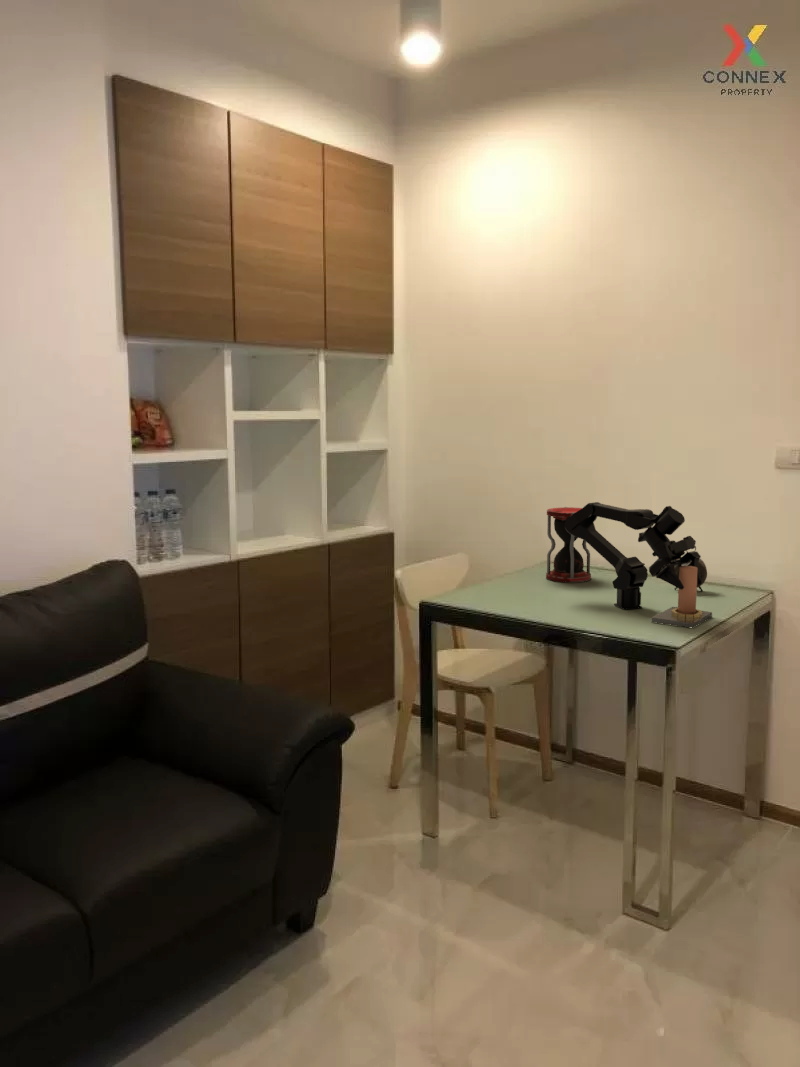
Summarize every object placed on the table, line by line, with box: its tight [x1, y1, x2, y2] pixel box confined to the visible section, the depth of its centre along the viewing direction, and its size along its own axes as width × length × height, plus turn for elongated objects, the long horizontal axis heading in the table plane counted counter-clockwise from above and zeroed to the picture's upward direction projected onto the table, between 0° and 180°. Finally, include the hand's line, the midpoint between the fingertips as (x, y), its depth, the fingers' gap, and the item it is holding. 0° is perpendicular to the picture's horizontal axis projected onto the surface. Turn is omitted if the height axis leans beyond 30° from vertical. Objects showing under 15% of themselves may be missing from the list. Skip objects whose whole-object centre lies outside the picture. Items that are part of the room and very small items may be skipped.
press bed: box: [651, 606, 713, 629], centre depth 259 cm, size 16×12×2 cm
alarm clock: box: [674, 544, 708, 592], centre depth 294 cm, size 11×5×16 cm, turn 74°
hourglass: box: [545, 506, 592, 583], centre depth 317 cm, size 16×16×25 cm
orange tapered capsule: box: [677, 566, 698, 614], centre depth 258 cm, size 5×5×14 cm
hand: (691, 586), depth 256 cm, fingers open, 9 cm apart
